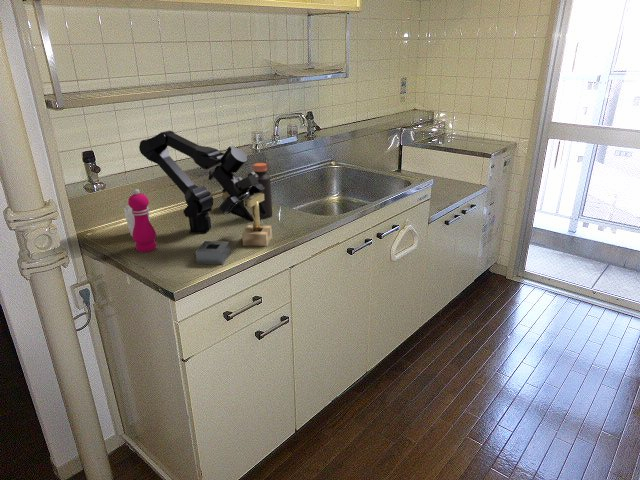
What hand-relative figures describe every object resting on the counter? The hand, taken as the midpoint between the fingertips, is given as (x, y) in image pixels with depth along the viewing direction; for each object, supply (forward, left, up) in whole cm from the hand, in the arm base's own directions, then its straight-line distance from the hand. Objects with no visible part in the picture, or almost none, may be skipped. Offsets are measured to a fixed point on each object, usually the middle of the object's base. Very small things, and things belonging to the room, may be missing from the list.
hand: (259, 217), depth 154 cm
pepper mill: (-36, -9, -9) cm, 38 cm away
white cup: (-44, +3, -9) cm, 45 cm away
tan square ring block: (-1, 0, -8) cm, 9 cm away
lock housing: (-11, -15, -8) cm, 20 cm away
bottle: (-5, +25, -9) cm, 27 cm away
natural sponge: (-19, +33, -9) cm, 40 cm away
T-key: (-1, 0, -8) cm, 8 cm away
